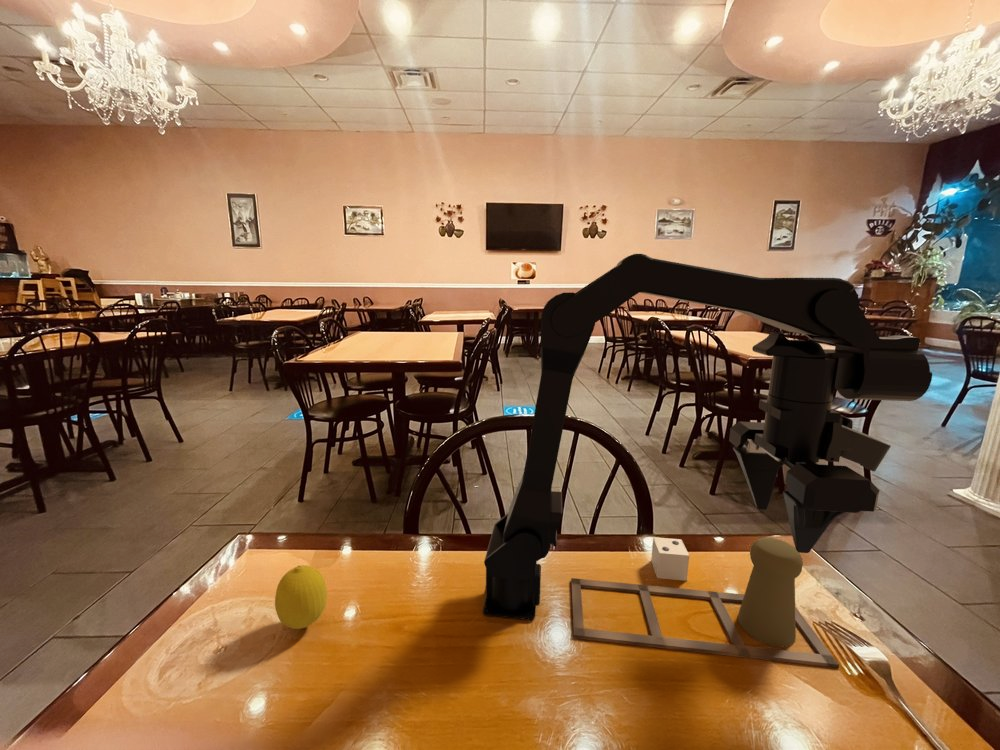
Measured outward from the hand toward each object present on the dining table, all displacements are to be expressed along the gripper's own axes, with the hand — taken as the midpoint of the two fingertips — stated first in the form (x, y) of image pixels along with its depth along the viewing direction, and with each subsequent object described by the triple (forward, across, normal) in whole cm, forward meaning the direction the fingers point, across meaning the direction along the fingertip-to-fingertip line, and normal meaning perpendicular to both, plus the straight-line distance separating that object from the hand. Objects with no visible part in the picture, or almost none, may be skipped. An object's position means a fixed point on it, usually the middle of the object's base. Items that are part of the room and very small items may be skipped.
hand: (780, 528), depth 49 cm
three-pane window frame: (+13, 0, +9) cm, 16 cm away
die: (+13, +10, +9) cm, 19 cm away
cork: (+13, 0, 0) cm, 13 cm away
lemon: (+13, -8, +55) cm, 57 cm away
